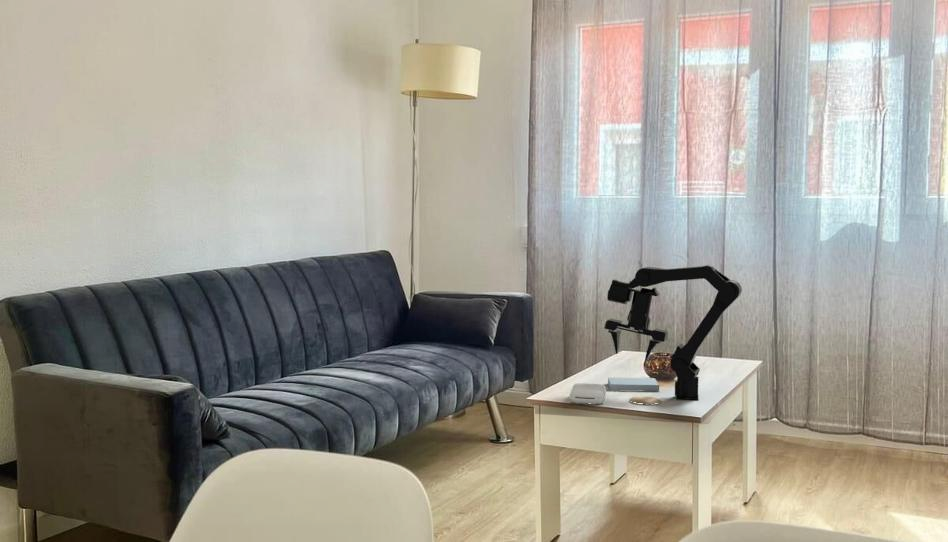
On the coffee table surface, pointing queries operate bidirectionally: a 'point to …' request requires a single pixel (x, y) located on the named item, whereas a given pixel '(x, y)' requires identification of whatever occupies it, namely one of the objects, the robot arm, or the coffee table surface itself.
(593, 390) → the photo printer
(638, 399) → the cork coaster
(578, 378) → the coffee table surface
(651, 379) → the pale blue flat block
